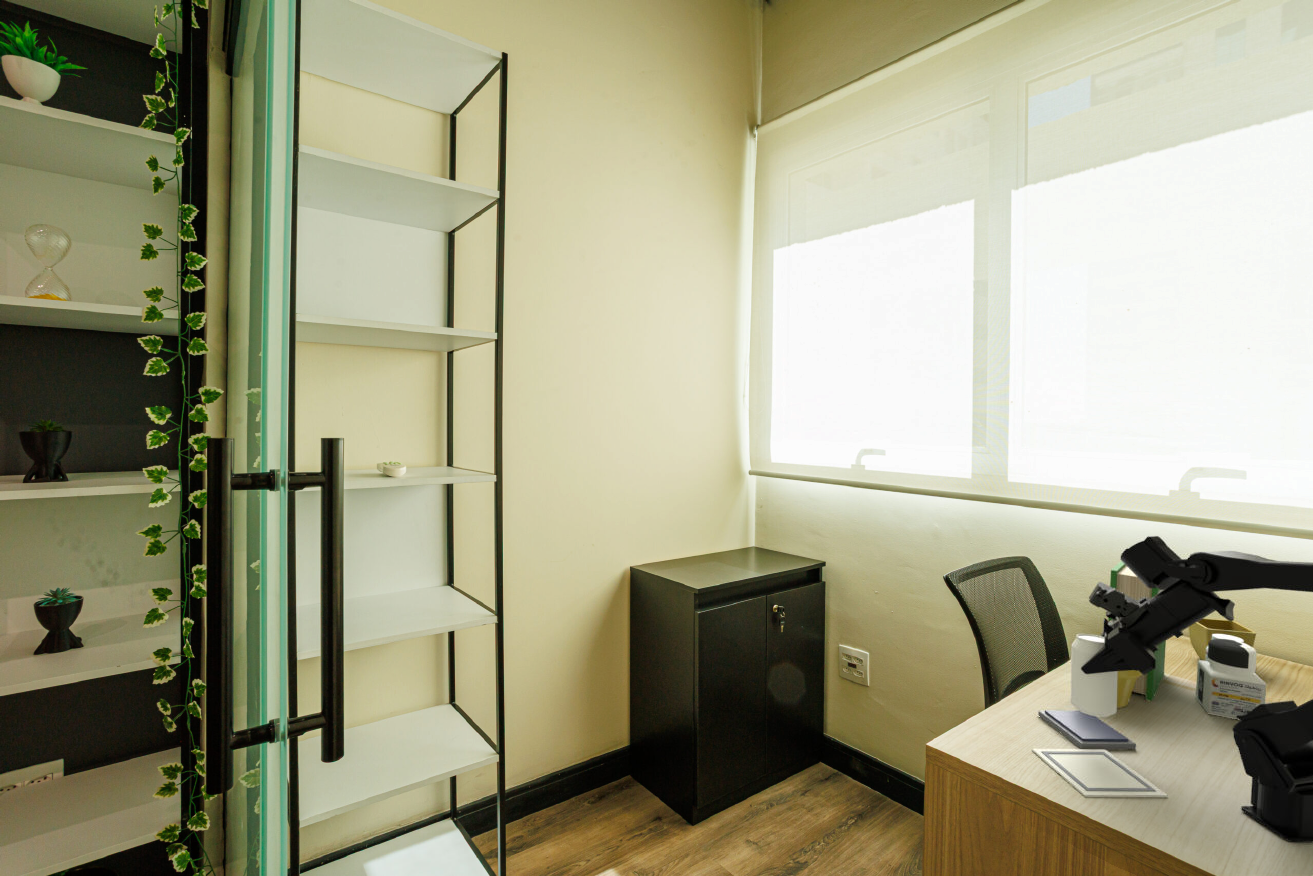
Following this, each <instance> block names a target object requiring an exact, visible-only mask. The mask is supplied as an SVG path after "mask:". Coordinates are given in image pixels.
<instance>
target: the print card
mask: <svg viewBox="0 0 1313 876" xmlns="http://www.w3.org/2000/svg"><path fill="white" fill-rule="evenodd" d="M1031 751H1032V752H1033V753H1034V754H1035V753H1036V754H1037V757H1039V758H1040V759H1041V761H1043V762H1044V763H1046V764H1047V765H1048V766H1049V767H1050V768H1051V769H1052V770H1053V771H1054V772H1056V773H1057V774H1058V773H1059V774H1060V775H1061V776H1060V775H1059V774H1058V775H1059V776H1060V777H1061V778H1063V779H1064V780H1065V781H1066V782H1067V783H1068V782H1069V783H1068V784H1069V785H1071V786H1072V787H1073V788H1074V789H1075V790H1076V791H1078V792H1079V793H1080V794H1081V796H1083V797H1085V798H1168V794H1166V793H1165V792H1164V791H1163V790H1161V789H1159V787H1156V785H1154V784H1153V783H1151V781H1149V780H1148V779H1146V778H1145V777H1143V776H1142V775H1140V773H1138V772H1137V771H1135V770H1134V769H1132V767H1130V766H1128V765H1127V764H1125V763H1124V762H1123V761H1121V760H1120V759H1119V758H1117V757H1116V756H1115V755H1113V754H1112V753H1111V752H1109V751H1108V750H1106V749H1080V748H1032V749H1031ZM1036 754H1035V755H1036Z"/></svg>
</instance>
